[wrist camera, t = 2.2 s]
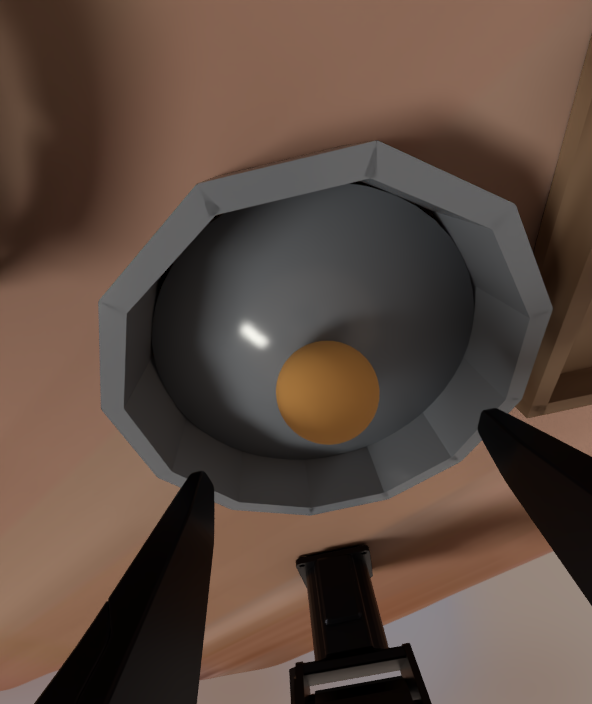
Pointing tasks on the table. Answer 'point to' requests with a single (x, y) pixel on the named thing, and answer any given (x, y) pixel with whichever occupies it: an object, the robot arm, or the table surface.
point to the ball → (327, 392)
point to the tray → (567, 270)
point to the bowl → (321, 325)
